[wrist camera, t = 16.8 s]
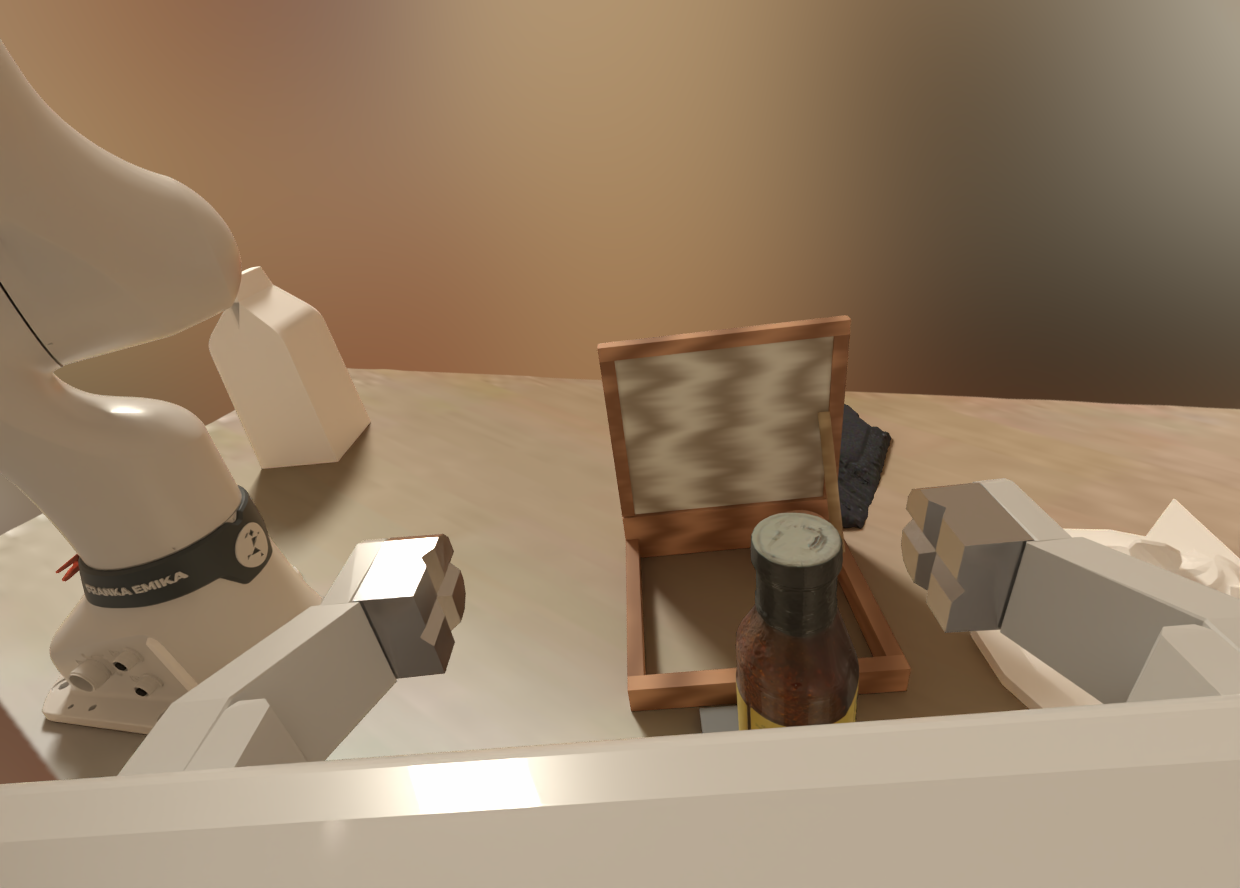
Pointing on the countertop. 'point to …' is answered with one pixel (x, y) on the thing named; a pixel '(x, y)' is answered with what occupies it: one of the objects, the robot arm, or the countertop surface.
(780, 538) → the sauce bottle
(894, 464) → the countertop surface
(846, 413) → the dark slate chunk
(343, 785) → the robot arm
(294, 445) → the milk
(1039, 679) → the dish
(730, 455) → the cedar box
